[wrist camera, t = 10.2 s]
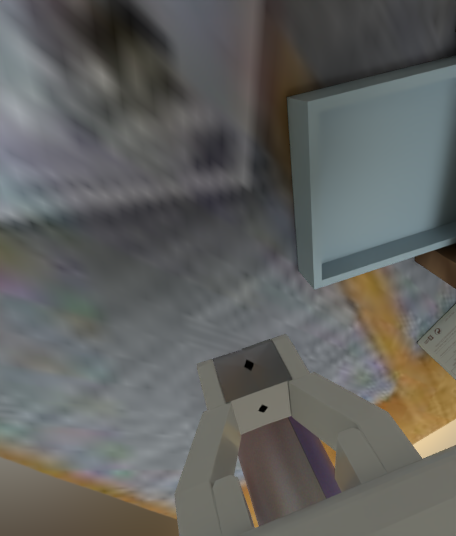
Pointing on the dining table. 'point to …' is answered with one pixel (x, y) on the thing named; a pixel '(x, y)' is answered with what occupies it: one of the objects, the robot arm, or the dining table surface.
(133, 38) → the dining table surface
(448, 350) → the supplement box
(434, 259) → the cubby
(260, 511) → the beverage can
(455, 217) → the grey-blue tray
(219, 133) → the dining table surface
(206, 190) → the dining table surface
